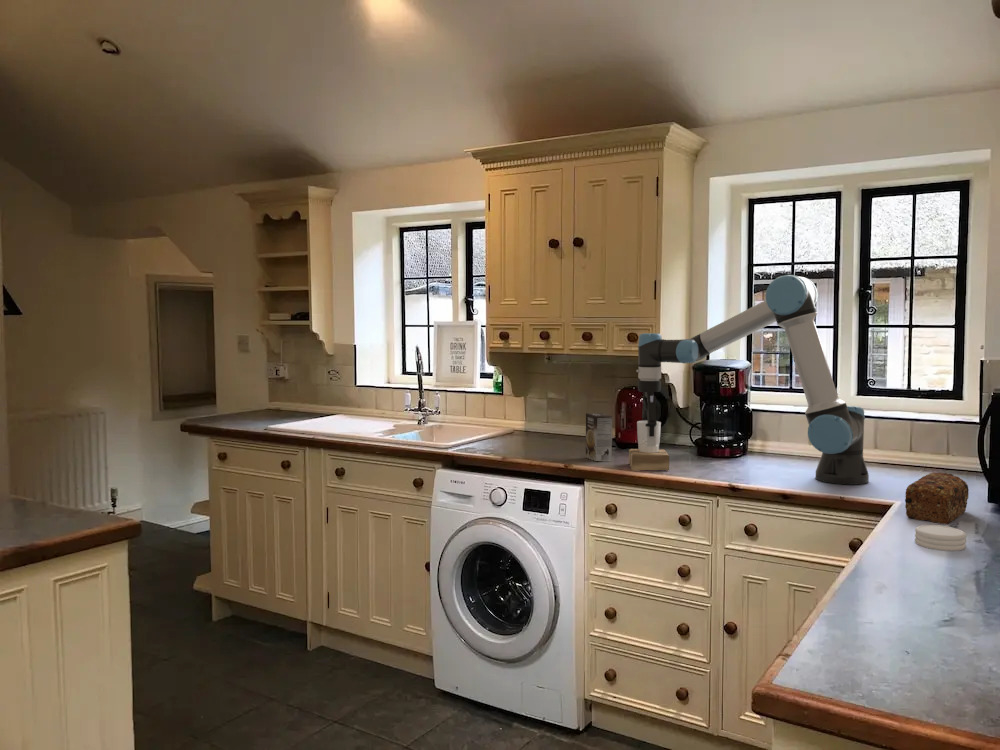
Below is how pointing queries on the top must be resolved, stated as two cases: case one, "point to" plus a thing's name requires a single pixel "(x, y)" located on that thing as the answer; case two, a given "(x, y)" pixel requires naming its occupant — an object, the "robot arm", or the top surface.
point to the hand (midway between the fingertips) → (648, 442)
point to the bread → (936, 498)
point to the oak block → (648, 460)
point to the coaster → (940, 538)
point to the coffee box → (598, 436)
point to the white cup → (643, 437)
